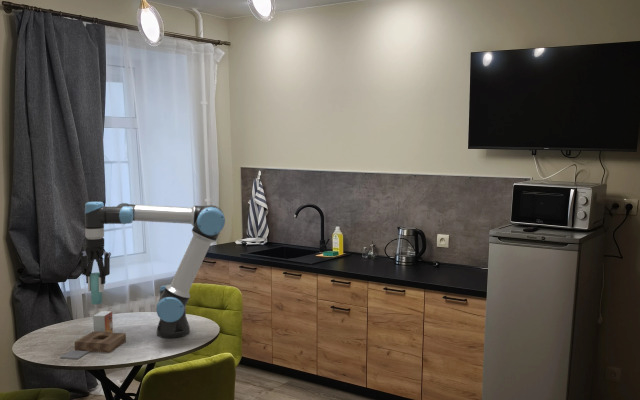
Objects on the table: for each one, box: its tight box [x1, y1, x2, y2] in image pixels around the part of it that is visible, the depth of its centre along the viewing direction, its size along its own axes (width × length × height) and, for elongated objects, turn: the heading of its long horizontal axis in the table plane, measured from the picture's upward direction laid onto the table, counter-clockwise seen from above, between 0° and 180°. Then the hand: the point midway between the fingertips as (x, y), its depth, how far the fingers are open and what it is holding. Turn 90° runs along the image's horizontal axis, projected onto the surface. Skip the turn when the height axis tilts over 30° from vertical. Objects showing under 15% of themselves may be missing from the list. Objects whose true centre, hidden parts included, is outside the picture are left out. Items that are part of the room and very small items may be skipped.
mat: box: [59, 349, 90, 360], centre depth 235 cm, size 8×8×1 cm
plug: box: [90, 271, 103, 305], centre depth 243 cm, size 4×4×13 cm
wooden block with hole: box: [74, 331, 127, 354], centre depth 245 cm, size 16×14×4 cm
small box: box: [92, 310, 114, 333], centre depth 260 cm, size 8×6×10 cm
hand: (96, 291), depth 242 cm, fingers closed on plug, 4 cm apart
